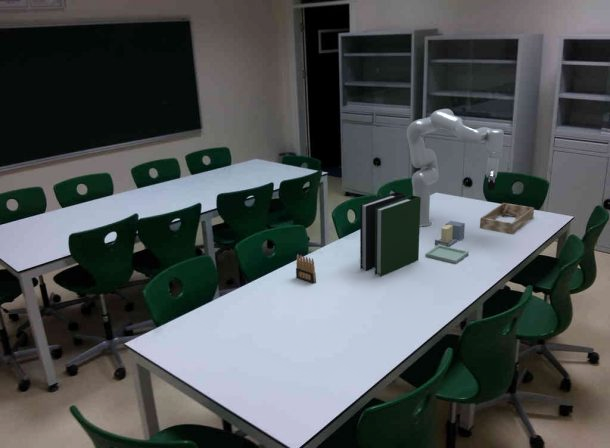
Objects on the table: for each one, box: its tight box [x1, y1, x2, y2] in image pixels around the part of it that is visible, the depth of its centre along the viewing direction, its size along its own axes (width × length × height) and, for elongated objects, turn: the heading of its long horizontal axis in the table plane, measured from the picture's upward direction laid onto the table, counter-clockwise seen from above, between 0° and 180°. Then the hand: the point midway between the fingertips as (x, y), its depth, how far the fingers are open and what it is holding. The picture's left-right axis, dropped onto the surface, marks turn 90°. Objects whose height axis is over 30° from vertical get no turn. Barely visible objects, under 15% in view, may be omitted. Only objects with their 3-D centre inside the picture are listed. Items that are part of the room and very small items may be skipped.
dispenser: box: [434, 220, 466, 248], centre depth 282 cm, size 8×18×8 cm, turn 140°
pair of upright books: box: [359, 191, 421, 278], centre depth 253 cm, size 27×15×32 cm, turn 132°
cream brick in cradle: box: [440, 224, 453, 246], centre depth 280 cm, size 3×7×9 cm, turn 140°
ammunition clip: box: [295, 253, 317, 284], centre depth 242 cm, size 11×2×12 cm, turn 48°
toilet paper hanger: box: [500, 203, 520, 221], centre depth 309 cm, size 25×9×8 cm, turn 154°
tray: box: [424, 244, 469, 265], centre depth 264 cm, size 16×14×2 cm
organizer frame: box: [479, 202, 535, 235], centre depth 306 cm, size 18×34×6 cm, turn 140°
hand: (491, 187), depth 274 cm, fingers open, 9 cm apart
